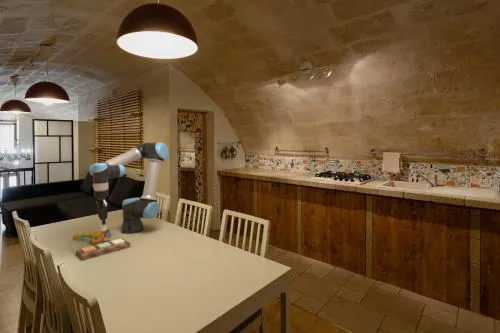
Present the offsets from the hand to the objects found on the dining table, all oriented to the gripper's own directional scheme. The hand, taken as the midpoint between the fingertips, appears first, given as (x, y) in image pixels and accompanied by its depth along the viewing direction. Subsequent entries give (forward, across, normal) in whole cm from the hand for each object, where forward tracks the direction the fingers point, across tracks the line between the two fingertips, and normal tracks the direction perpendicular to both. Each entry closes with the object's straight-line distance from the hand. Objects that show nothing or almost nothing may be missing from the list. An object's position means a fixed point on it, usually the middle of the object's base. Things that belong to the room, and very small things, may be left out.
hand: (103, 229), depth 164 cm
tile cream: (+11, 0, +8) cm, 14 cm away
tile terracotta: (+11, 0, -8) cm, 14 cm away
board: (+13, 0, 0) cm, 13 cm away
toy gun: (+12, -20, -4) cm, 24 cm away
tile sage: (+11, 0, 0) cm, 11 cm away
